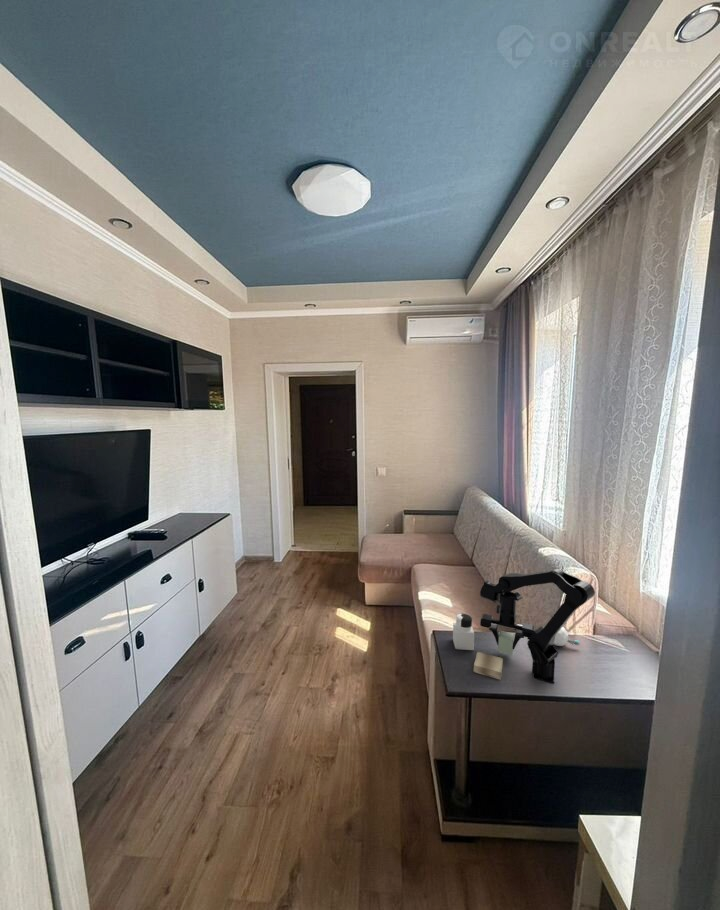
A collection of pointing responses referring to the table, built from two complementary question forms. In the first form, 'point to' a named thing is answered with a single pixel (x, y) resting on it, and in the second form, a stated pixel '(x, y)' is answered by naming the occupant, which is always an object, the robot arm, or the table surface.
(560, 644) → the perfume bottle
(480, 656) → the oak slab
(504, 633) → the green block
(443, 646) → the table surface
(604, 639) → the table surface
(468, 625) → the medicine bottle
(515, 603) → the robot arm
